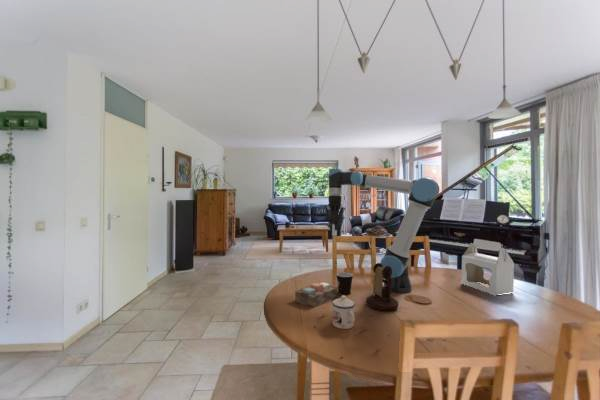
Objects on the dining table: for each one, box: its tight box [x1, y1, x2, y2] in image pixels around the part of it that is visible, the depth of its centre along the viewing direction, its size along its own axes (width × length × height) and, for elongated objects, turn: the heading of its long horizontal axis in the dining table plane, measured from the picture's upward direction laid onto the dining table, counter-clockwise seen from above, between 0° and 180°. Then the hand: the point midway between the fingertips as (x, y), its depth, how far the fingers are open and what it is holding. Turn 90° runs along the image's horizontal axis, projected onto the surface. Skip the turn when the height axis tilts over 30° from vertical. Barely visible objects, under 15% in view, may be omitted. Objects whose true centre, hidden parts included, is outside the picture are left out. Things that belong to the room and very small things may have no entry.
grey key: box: [302, 286, 315, 295], centre depth 141 cm, size 4×4×5 cm
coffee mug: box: [336, 272, 354, 296], centre depth 157 cm, size 12×9×10 cm
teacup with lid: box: [331, 295, 356, 330], centre depth 116 cm, size 12×9×12 cm
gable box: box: [461, 238, 515, 295], centre depth 166 cm, size 22×13×28 cm, turn 19°
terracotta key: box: [310, 282, 323, 292], centre depth 145 cm, size 4×4×5 cm
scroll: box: [365, 262, 399, 312], centre depth 137 cm, size 15×15×20 cm
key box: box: [294, 282, 338, 309], centre depth 145 cm, size 19×12×5 cm, turn 138°
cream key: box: [319, 282, 331, 289], centre depth 150 cm, size 4×4×5 cm
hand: (334, 235), depth 169 cm, fingers closed
